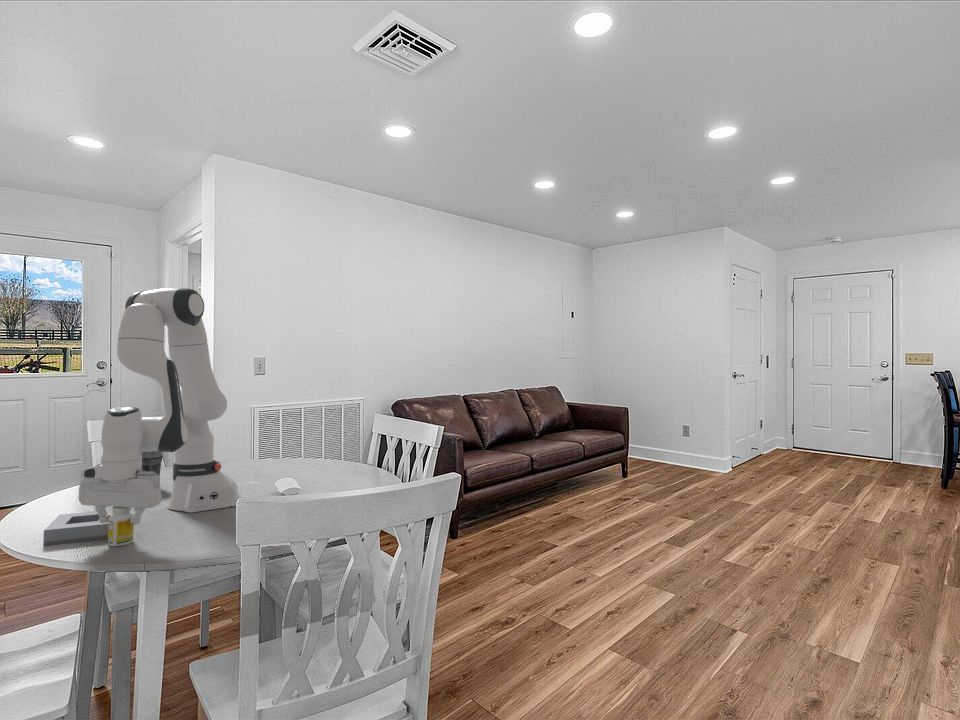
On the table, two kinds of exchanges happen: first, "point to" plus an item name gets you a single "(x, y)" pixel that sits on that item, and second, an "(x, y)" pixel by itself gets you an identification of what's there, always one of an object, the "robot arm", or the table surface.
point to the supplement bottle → (120, 527)
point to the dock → (76, 528)
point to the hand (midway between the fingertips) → (119, 522)
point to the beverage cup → (152, 461)
